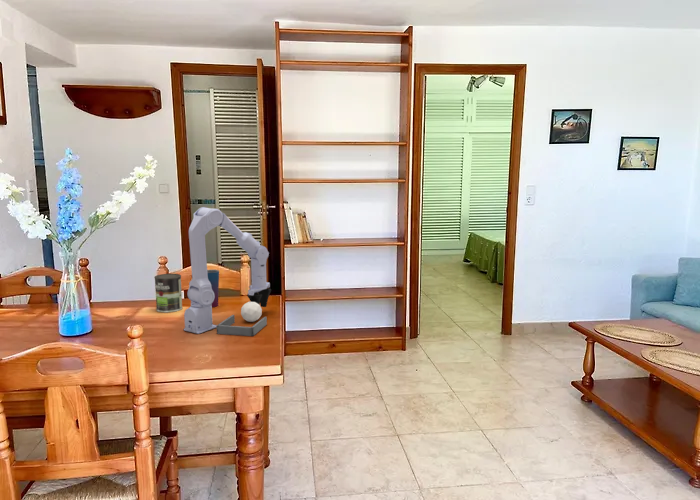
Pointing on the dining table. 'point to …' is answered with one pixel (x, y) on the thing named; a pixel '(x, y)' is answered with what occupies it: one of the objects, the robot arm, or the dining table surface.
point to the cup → (214, 284)
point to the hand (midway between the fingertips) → (260, 308)
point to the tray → (239, 327)
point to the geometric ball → (251, 311)
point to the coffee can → (168, 292)
